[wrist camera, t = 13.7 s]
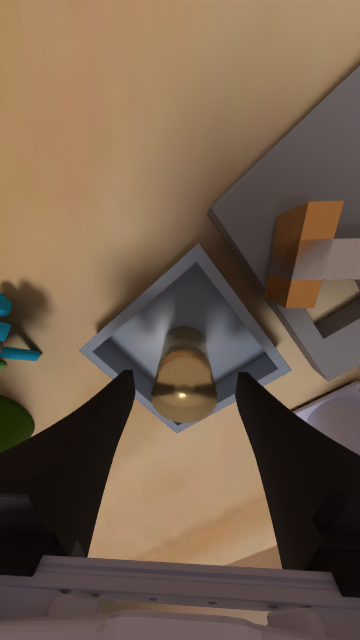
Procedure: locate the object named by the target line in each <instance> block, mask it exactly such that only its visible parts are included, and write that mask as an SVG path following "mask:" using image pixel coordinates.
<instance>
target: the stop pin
mask: <svg viewBox="0 0 360 640" xmlns="http://www.w3.org/2000/svg"><path fill="white" fill-rule="evenodd" d="M217 400H218V396H217V391H216V387H215V382H214V378H213V373H212V369H211V365H210V360H209V356H208V352H207V347H206V343H205V339H204V337H203V335H202V334H201V333H200V332H199V331H198V330H197V329H195V328H192V327H189V326H181V327H177V328H174V329H173V330H171V331H170V332H169V333H168V334H167V336H166V337H165V340H164V344H163V348H162V352H161V356H160V360H159V364H158V368H157V372H156V376H155V380H154V384H153V388H152V392H151V401H152V404H153V407H154V408H155V410H156V411H157V412H158V413H159V414H160V415H161V416H163V417H164V418H166V419H168V420H171V421H174V422H179V423H191V422H196V421H199V420H202V419H204V418H205V417H207V416H208V415H210V414H211V413H212V411H213V410H214V409H215V407H216V404H217Z"/></svg>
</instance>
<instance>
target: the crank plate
mask: <svg viewBox="0 0 360 640" xmlns="http://www.w3.org/2000/svg"><path fill="white" fill-rule="evenodd" d="M316 201H344V203H343V207H342V211H341V214H340V218H339V221H338V225H337V228H336V232H335V235H334V239H351V238H360V66H359V67H358V68H356V69H355V70H354V71H353V72H352V73H351V74H350V75H349V76H348V77H347V78H346V79H345V80H344V81H343V82H342V83H341V84H340V85H338V86H337V87H336V88H335V89H334V90H333V91H332V92H331V93H330V94H329V95H328V96H327V97H326V98H325V99H324V100H323V101H322V102H321V103H319V104H318V105H317V106H316V107H315V108H314V109H313V110H312V111H311V112H310V113H309V114H308V115H307V116H306V117H305V118H304V119H303V120H301V121H300V122H299V123H298V124H297V125H296V126H295V127H294V128H293V129H292V130H291V131H290V132H289V133H288V134H287V135H286V136H285V137H284V138H282V139H281V140H280V141H279V142H278V143H277V144H276V145H275V146H274V147H273V148H272V149H271V150H270V151H269V152H268V153H267V154H266V155H264V156H263V157H262V158H261V159H260V160H259V161H258V162H257V163H256V164H255V165H254V166H253V167H252V168H251V169H250V170H249V171H248V172H246V173H245V174H244V175H243V176H242V177H241V178H240V179H239V180H238V181H237V182H236V183H235V184H234V185H233V186H232V187H231V188H230V189H229V190H227V191H226V192H225V193H224V194H223V195H222V196H221V197H220V198H219V199H218V200H217V201H216V202H215V203H214V204H213V205H212V206H211V207H210V209H209V211H208V213H207V214H208V216H209V217H210V219H211V220H212V222H213V223H214V225H215V226H216V228H217V229H218V231H219V232H220V233H221V235H222V236H223V238H224V239H225V241H226V242H227V244H228V245H229V247H230V248H231V250H232V251H233V252H234V254H235V255H236V257H237V258H238V260H239V261H240V263H241V264H242V266H243V267H244V269H245V270H246V271H247V273H248V274H249V276H250V277H251V279H252V280H253V282H254V283H255V285H256V286H257V288H258V289H259V290H260V292H261V293H262V295H263V296H264V298H265V291H266V285H267V279H268V273H269V267H270V261H271V255H272V249H273V243H274V237H275V231H276V225H277V219H278V215H279V214H282V213H284V212H286V211H289V210H291V209H293V208H295V207H298V206H300V205H302V204H305V203H307V202H316ZM355 281H356V283H357V285H358V287H359V289H360V279H355ZM265 299H266V301H267V302H268V304H269V305H270V306H271V308H272V309H273V311H274V312H275V314H276V315H277V317H278V318H279V320H280V321H281V323H282V324H283V325H284V327H285V328H286V330H287V331H288V333H289V334H290V336H291V337H292V339H293V340H294V342H295V343H296V344H297V346H298V347H299V349H300V350H301V352H302V353H303V355H304V356H305V358H306V359H307V361H308V362H309V363H310V365H311V366H312V368H313V369H314V370H315V371H317V372H318V373H319V374H320V375H321V376H322V377H323V378H324V379H326V380H327V381H330V380H332V379H334V378H336V377H338V376H340V375H342V374H344V373H346V372H348V371H350V370H352V369H354V368H356V367H358V366H360V298H358V299H357V300H355V301H353V302H352V303H350V304H348V305H347V306H345V307H343V308H342V309H340V310H338V311H337V312H335V313H333V314H332V315H330V316H328V317H327V318H325V319H323V320H322V321H320V322H318V323H317V324H315V325H314V323H313V322H312V320H311V318H310V317H309V315H308V313H307V312H306V310H305V309H304V308H284V307H282V306H280V305H278V304H276V303H274V302H273V301H271V300H269V299H267V298H265Z"/></svg>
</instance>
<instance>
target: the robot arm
mask: <svg viewBox="0 0 360 640" xmlns="http://www.w3.org/2000/svg"><path fill="white" fill-rule="evenodd" d="M135 394H136V391H135V383H134V375H133V370H123V371H122V372H121V373H120V374H119V375H118V376H117V377H115V378H114V379H113V380H112V381H111V382H110V383H109V384H108V385H107V386H105V387H104V388H103V389H102V390H101V391H100V392H98V393H97V394H96V395H95V396H94V397H92V398H91V399H90V400H89V401H87V402H86V403H85V404H83V405H82V406H81V407H79V408H78V409H77V410H75V411H74V412H72V413H71V414H69V415H68V416H66V417H65V418H63V419H62V420H60V421H58V422H57V423H55V424H54V425H52V426H50V427H49V428H47V429H45V430H43V431H42V432H40V433H38V434H36V435H35V436H33V437H31V438H29V439H27V440H25V441H23V442H21V443H19V444H18V445H15V446H13V447H11V448H9V449H7V450H5V451H3V452H1V453H0V640H360V381H355V382H353V383H351V384H349V385H347V386H345V387H343V388H341V389H338V390H336V391H334V392H332V393H330V394H328V395H326V396H324V397H322V398H320V399H318V400H316V401H314V402H311V403H309V404H307V405H305V406H303V407H301V408H299V409H297V410H295V411H293V412H292V411H291V410H289V409H288V408H287V407H286V406H284V405H283V404H282V403H281V402H280V401H278V400H277V399H276V398H275V397H274V396H273V395H272V394H270V393H269V392H268V391H267V390H266V389H265V388H264V387H263V386H262V385H261V384H260V383H259V382H258V381H256V380H255V379H254V378H253V377H252V376H251V375H250V374H249V373H248V372H238V378H237V385H236V391H235V398H236V402H237V406H238V410H239V413H240V416H241V419H242V421H243V424H244V427H245V430H246V432H247V435H248V438H249V440H250V443H251V446H252V449H253V452H254V455H255V458H256V461H257V465H258V469H259V472H260V476H261V480H262V483H263V487H264V491H265V495H266V499H267V503H268V507H269V511H270V515H271V519H272V523H273V528H274V532H275V537H276V541H277V545H278V550H279V554H280V559H281V564H282V568H283V569H268V568H252V567H235V566H218V565H201V564H184V563H168V562H151V561H134V560H117V559H100V558H87V557H88V552H89V548H90V544H91V540H92V536H93V531H94V527H95V523H96V519H97V515H98V511H99V508H100V504H101V500H102V496H103V492H104V489H105V485H106V481H107V478H108V474H109V471H110V467H111V464H112V461H113V457H114V454H115V451H116V448H117V445H118V442H119V440H120V437H121V434H122V432H123V429H124V427H125V424H126V422H127V419H128V417H129V414H130V411H131V409H132V406H133V402H134V398H135ZM87 599H95V600H110V601H124V602H140V603H154V604H169V605H184V606H198V607H213V608H227V609H243V610H257V611H272V612H269V613H268V616H267V620H268V624H267V626H264V625H259V624H255V623H252V622H250V621H248V620H245V619H242V618H235V617H229V616H218V615H203V614H189V613H174V612H160V611H159V612H158V611H145V610H121V611H118V612H115V613H112V614H101V613H100V612H99V608H100V607H99V603H98V602H95V601H91V600H87Z"/></svg>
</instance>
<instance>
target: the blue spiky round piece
mask: <svg viewBox="0 0 360 640" xmlns="http://www.w3.org/2000/svg"><path fill="white" fill-rule="evenodd" d="M11 306H12V302H11V301H8V300H5V295H4V294H3V293H0V316H4V317H5V316H7V315H8V314H9V313H10V311H11ZM10 327H11V324H7V323H3V322H0V341H4V340H5V339H6V337H7V335H8V333H9V330H10ZM39 356H40V352H39V351H35V350H27V349H19V348H12V347H4V346H3V344H2V343H1V342H0V358H8V359H20V360H31V361H36V360H37V359H38V358H39ZM4 366H5V362H0V369H3V368H4Z"/></svg>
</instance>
